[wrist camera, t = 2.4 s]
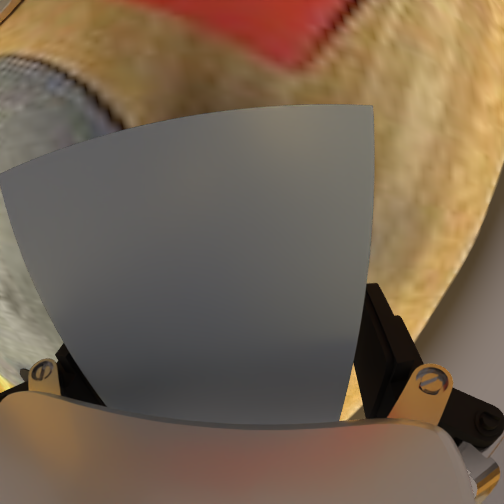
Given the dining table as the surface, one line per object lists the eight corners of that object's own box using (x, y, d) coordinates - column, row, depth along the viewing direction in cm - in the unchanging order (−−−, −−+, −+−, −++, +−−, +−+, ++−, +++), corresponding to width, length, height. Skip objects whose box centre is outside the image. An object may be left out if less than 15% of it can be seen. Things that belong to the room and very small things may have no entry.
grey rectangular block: (139, 129, 12) (-3, 174, 4) (305, 108, 12) (372, 106, 4) (190, 342, 18) (155, 462, 10) (309, 339, 18) (323, 469, 10)
